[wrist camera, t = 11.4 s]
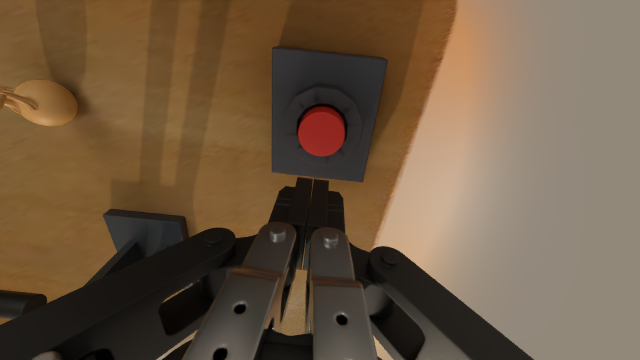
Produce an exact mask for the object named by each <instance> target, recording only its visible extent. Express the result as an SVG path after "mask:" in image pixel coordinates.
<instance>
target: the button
mask: <svg viewBox="0 0 640 360" xmlns="http://www.w3.org/2000/svg"><path fill="white" fill-rule="evenodd" d="M298 137H299V141H300V143H301V145H302V147H303V148H304V149H305V150H306V151H307V152H309V153H311V154H313V155H316V156H328V155H331V154H333V153H335V152H336V151H337V150H339V148H340V147H341V146H342V144H343V142H344V138H345V129H344V122H343V119H342V117H341V116H340V115H339V113H338V112H337V111H335V110H334V109H332V108H329V107H325V106H319V107H315V108H312V109H311V110H309V111H308V112H307V113H306V114H305V115H304V117H303V119H302V121H301V124H300V126H299V131H298Z"/></svg>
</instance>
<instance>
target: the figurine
mask: <svg viewBox="0 0 640 360" xmlns="http://www.w3.org/2000/svg"><path fill="white" fill-rule="evenodd" d="M6 88H8V89H12V88H10V87H5V86H0V110H1V109H2V108H3V105H6V106H9V107H10V108H11V109H12V110H13V111H15V112H16V113H20V114H21V115H22V116H24V117H25V118H26V119H28V120H30V121H32V122H34V123H37V124H40V125H45V126H58V125H63V124H66V123H68V122H69V121H71V120H72V119H73V118H74V117H75V115H76V113H77V110H78V105H77V101H76V99H75V97H74V96H73V94H72V93H71V92H70V91H69V90H68V89H66V88H65V87H63V86H62V85H60V84H58V83H55V82H52V81H48V80H41V79H36V80H29V81H26V82H24V83H22V84H20V85H19V86H18V87H17V88H16V89H15V91H14V93H13V92H12V91H9V90H6ZM6 97H8V98H10V99H13V100H8V99H6Z"/></svg>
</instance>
